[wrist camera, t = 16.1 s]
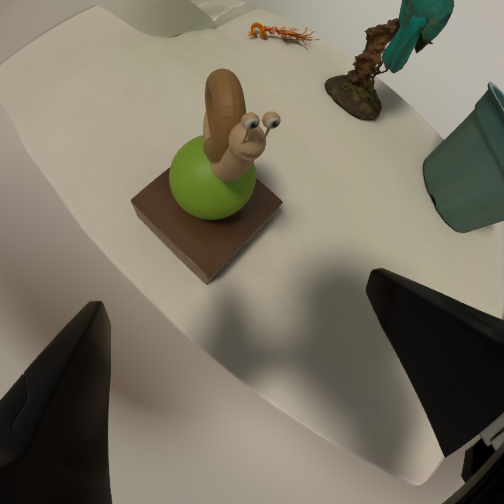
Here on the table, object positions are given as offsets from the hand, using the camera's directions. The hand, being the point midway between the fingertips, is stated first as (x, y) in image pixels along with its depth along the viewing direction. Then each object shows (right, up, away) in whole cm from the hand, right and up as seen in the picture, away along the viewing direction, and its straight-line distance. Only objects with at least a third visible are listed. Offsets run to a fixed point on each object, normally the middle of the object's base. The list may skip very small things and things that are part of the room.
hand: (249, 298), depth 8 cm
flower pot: (+28, +10, +22) cm, 37 cm away
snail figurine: (-3, +5, +11) cm, 12 cm away
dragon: (+4, +34, +24) cm, 42 cm away
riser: (-4, +4, +14) cm, 15 cm away
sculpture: (+14, +22, +23) cm, 35 cm away
